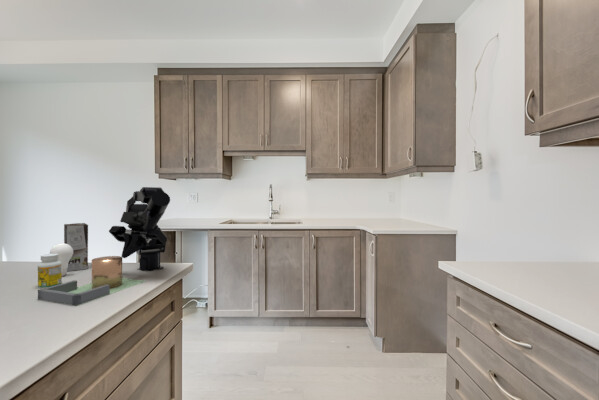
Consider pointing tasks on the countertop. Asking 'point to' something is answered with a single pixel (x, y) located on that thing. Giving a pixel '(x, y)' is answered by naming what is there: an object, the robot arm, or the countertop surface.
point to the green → (125, 284)
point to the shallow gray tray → (63, 296)
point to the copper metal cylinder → (107, 271)
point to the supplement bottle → (49, 271)
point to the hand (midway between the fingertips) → (123, 257)
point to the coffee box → (77, 245)
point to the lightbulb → (63, 255)
